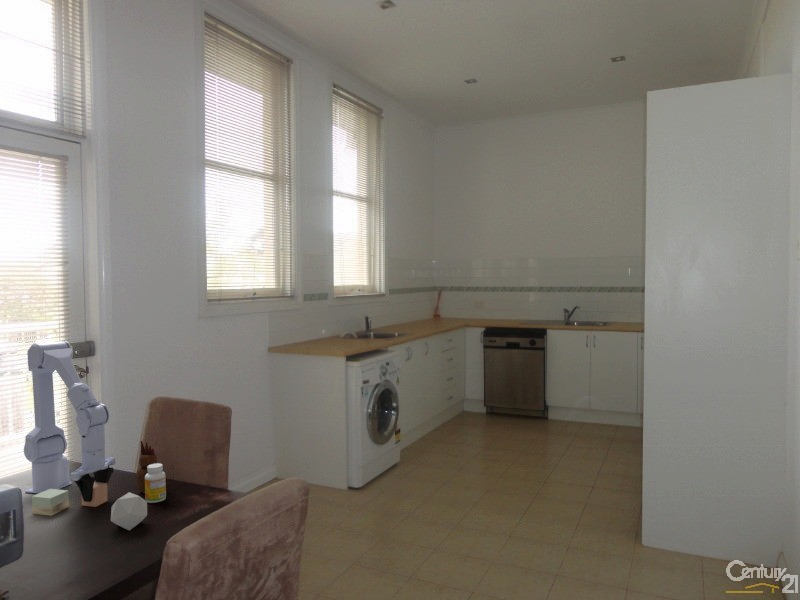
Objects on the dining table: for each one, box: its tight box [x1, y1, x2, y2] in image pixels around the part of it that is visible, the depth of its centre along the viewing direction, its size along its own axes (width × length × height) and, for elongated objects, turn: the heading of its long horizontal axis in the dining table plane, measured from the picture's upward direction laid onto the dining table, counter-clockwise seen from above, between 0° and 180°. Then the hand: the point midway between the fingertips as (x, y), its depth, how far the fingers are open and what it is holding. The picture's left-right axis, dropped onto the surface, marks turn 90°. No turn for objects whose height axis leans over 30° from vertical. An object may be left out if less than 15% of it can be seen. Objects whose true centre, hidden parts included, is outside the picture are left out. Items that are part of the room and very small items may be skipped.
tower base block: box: [31, 499, 70, 517], centre depth 159 cm, size 6×6×2 cm
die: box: [110, 491, 148, 532], centre depth 149 cm, size 8×9×10 cm
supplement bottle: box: [144, 462, 167, 504], centre depth 166 cm, size 5×5×10 cm
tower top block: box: [31, 489, 70, 508], centre depth 159 cm, size 6×6×2 cm
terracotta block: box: [80, 481, 108, 508], centre depth 164 cm, size 4×4×5 cm
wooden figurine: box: [135, 440, 158, 494], centre depth 172 cm, size 7×6×15 cm
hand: (94, 497), depth 164 cm, fingers closed on terracotta block, 4 cm apart
